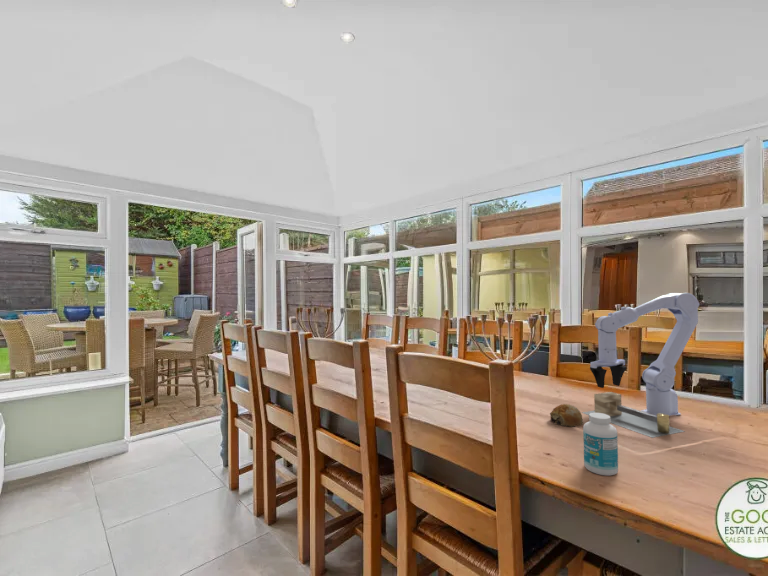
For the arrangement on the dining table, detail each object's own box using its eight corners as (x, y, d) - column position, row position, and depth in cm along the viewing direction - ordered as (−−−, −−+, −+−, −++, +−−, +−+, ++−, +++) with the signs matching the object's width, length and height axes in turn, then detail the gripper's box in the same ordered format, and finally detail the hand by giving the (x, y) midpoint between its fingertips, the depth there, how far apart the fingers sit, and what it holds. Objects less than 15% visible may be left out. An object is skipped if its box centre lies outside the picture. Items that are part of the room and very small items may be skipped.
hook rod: (622, 416, 131) (622, 401, 131) (671, 432, 116) (671, 415, 116) (615, 417, 130) (615, 402, 130) (664, 433, 115) (664, 416, 115)
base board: (610, 409, 142) (610, 407, 142) (685, 433, 117) (685, 431, 117) (581, 414, 137) (581, 412, 137) (652, 439, 113) (652, 437, 113)
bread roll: (581, 439, 124) (592, 417, 123) (551, 424, 125) (561, 403, 125) (573, 428, 133) (583, 408, 133) (544, 415, 135) (554, 395, 135)
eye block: (611, 411, 138) (611, 391, 138) (621, 414, 134) (621, 394, 134) (594, 413, 135) (594, 394, 136) (604, 417, 132) (603, 396, 132)
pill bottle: (577, 464, 98) (576, 411, 98) (605, 462, 99) (603, 410, 99) (596, 478, 91) (594, 420, 91) (625, 476, 91) (624, 419, 91)
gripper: (601, 351, 133) (602, 390, 133) (632, 349, 138) (633, 386, 138) (585, 349, 140) (586, 386, 140) (614, 346, 145) (616, 382, 144)
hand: (608, 386), depth 139 cm, fingers open, 7 cm apart
